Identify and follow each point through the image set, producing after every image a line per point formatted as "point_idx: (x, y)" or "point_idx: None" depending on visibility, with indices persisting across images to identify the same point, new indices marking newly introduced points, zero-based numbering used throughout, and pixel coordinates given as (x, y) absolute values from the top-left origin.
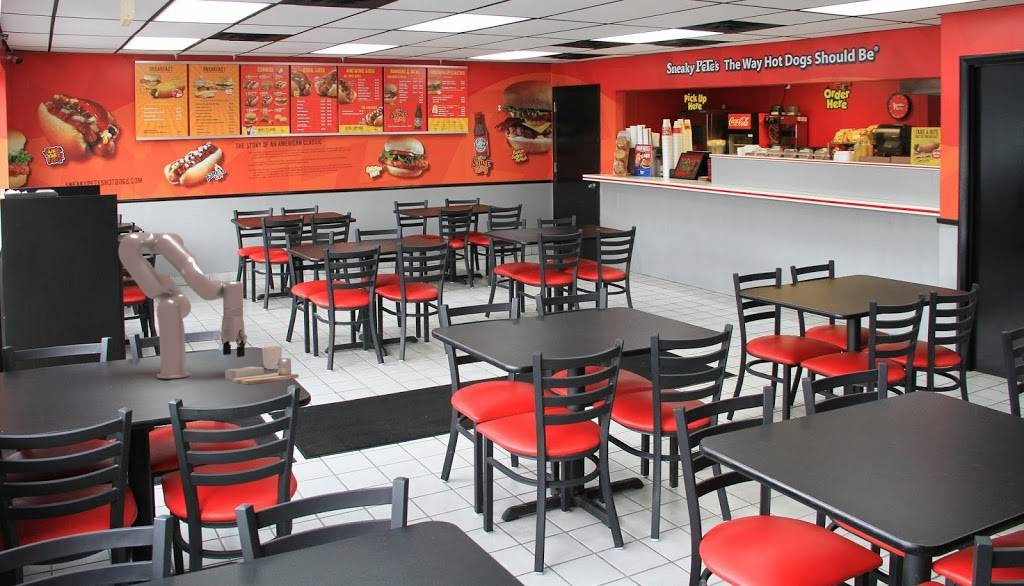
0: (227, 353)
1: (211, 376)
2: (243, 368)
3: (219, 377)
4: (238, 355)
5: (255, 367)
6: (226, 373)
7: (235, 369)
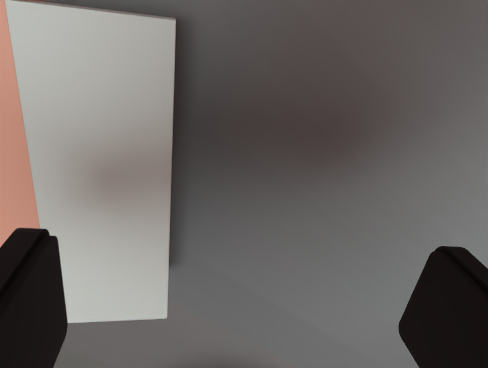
0: (422, 299)
1: (415, 57)
2: (79, 206)
3: (302, 54)
4: (8, 255)
5: None
6: (141, 15)
7: (80, 111)
